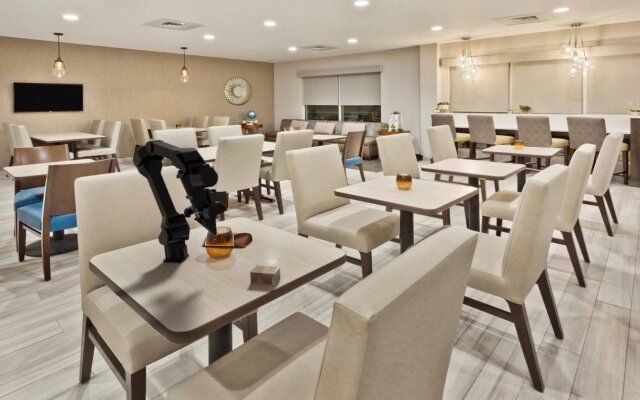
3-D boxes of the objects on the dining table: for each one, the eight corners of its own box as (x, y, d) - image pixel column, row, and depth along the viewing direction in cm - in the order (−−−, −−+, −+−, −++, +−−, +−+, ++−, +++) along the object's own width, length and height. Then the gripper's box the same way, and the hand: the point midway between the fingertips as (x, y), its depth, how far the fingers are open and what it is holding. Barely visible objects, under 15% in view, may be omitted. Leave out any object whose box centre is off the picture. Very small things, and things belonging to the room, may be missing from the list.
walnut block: (250, 272, 122) (274, 273, 120) (256, 265, 127) (279, 267, 125) (250, 283, 123) (274, 285, 121) (257, 275, 127) (280, 277, 126)
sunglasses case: (199, 246, 153) (201, 229, 155) (206, 250, 160) (208, 233, 162) (246, 248, 151) (247, 230, 153) (251, 251, 158) (253, 234, 159)
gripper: (231, 177, 124) (250, 224, 128) (204, 180, 139) (222, 222, 143) (199, 192, 118) (220, 241, 122) (174, 194, 132) (194, 237, 136)
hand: (215, 234), depth 131 cm, fingers closed
